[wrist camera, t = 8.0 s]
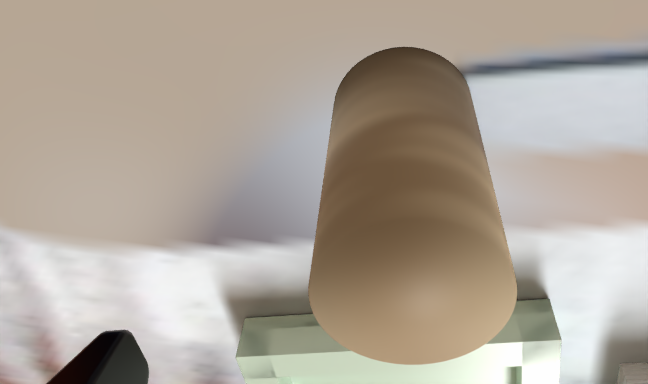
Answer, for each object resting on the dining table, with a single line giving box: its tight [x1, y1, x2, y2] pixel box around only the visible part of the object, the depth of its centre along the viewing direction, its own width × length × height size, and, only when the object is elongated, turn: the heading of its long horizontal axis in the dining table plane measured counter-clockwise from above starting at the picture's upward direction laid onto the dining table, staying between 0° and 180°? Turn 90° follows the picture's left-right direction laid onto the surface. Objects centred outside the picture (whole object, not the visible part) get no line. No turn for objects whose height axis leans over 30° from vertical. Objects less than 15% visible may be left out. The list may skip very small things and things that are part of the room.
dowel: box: [308, 47, 517, 365], centre depth 12 cm, size 3×3×6 cm
